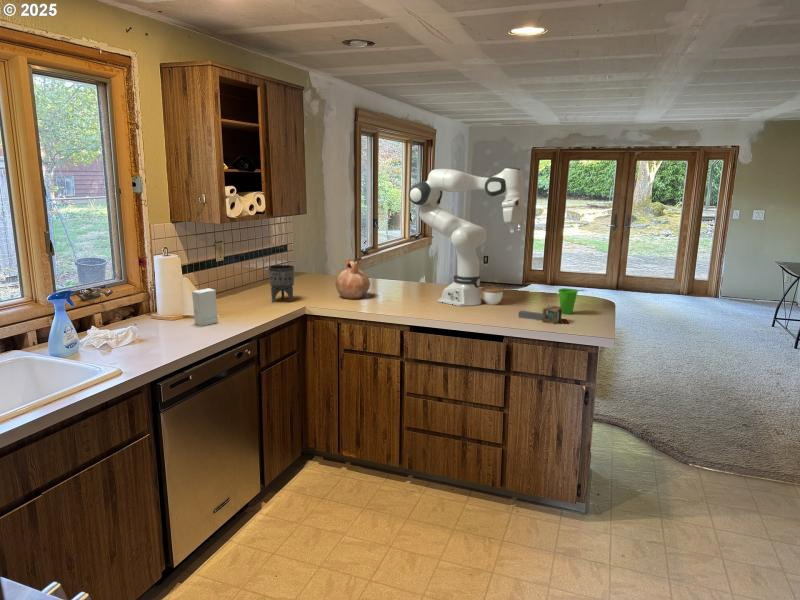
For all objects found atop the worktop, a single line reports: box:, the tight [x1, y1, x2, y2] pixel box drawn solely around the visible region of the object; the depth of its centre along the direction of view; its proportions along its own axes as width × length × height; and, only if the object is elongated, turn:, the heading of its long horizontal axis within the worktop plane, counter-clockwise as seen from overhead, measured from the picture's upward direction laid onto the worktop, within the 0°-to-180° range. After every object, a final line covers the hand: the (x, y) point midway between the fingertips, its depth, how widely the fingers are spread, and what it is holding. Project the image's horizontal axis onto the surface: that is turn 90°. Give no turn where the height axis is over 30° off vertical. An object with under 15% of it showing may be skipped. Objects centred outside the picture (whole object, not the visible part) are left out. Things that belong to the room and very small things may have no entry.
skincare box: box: [191, 287, 219, 327], centre depth 244 cm, size 8×6×15 cm
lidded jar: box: [481, 285, 504, 306], centre depth 287 cm, size 11×11×9 cm
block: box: [547, 311, 560, 323], centre depth 252 cm, size 4×4×4 cm
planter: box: [267, 264, 295, 304], centre depth 289 cm, size 13×13×18 cm
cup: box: [557, 288, 579, 315], centre depth 267 cm, size 9×9×11 cm
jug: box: [335, 258, 371, 300], centre depth 299 cm, size 18×18×20 cm
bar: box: [518, 310, 548, 322], centre depth 257 cm, size 13×3×3 cm, turn 59°
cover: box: [541, 304, 563, 325], centre depth 252 cm, size 6×8×6 cm
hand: (516, 231), depth 267 cm, fingers open, 8 cm apart
